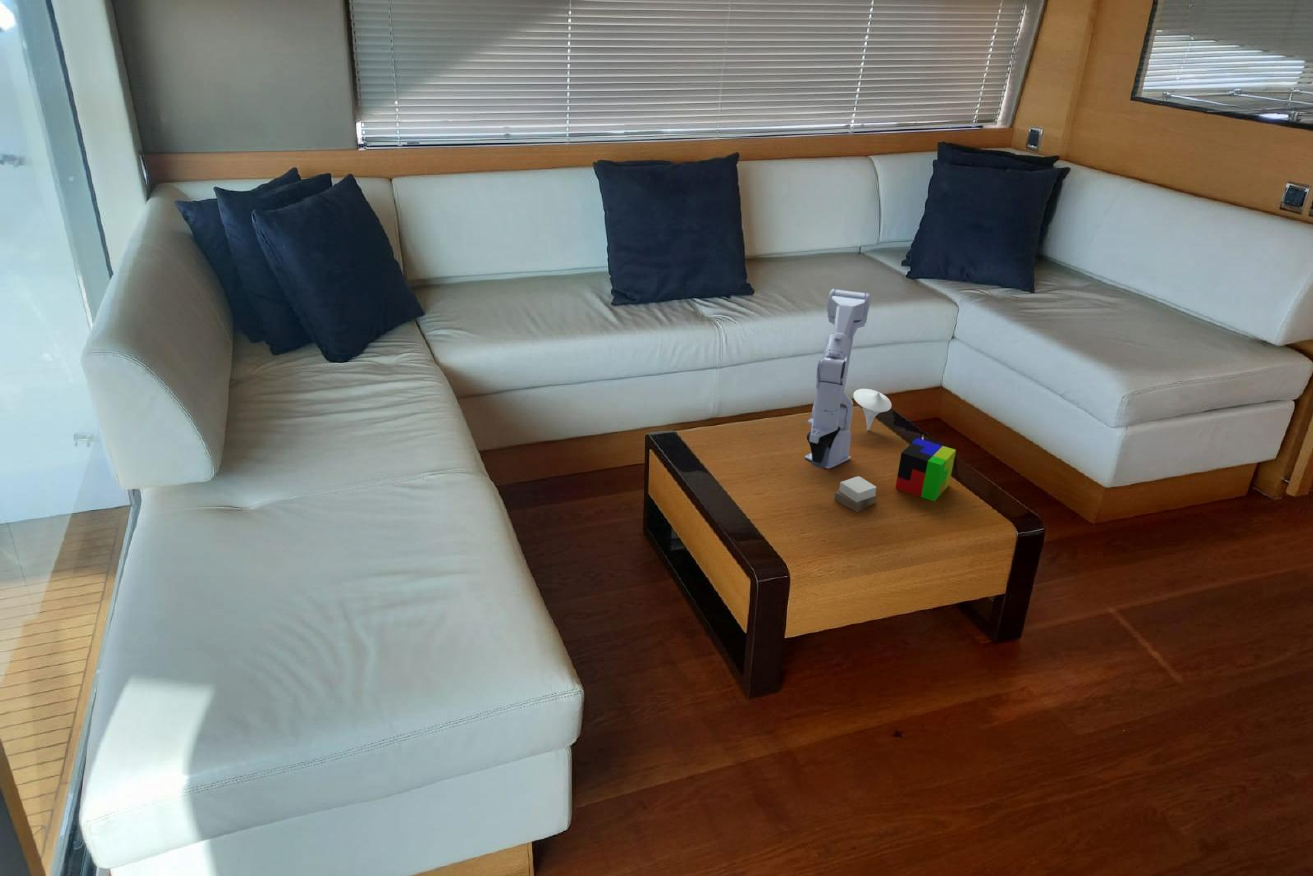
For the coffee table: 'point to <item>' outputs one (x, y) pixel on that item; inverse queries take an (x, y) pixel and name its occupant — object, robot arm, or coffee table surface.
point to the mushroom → (871, 403)
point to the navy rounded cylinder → (825, 459)
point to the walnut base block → (852, 504)
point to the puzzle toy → (925, 469)
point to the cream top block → (857, 489)
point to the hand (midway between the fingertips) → (820, 458)
